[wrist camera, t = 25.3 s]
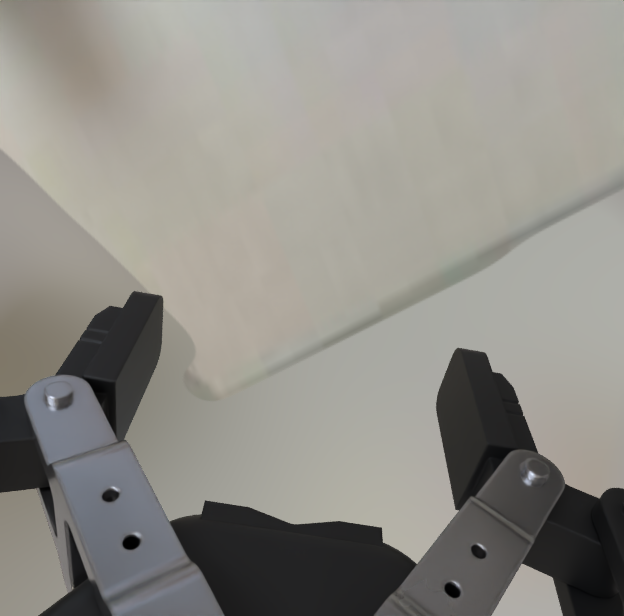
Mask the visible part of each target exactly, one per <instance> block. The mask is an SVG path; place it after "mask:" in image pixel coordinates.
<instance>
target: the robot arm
mask: <svg viewBox="0 0 624 616" xmlns="http://www.w3.org/2000/svg"><path fill="white" fill-rule="evenodd" d="M162 320H163V297H162V296H160V295H154V294H148V293H142V292H136V291H134V292H133V293H132V294H131V295H130V297H129V299H128V300H127V302H126V304H125V306H124V307H123V308H119V307H113V306H109V307H108V308H106V309H105V310H103V311H101V312H100V313H98V314H97V315H95V316H94V318H93V319H92V321H91V322H90V324H89V325H88V327H87V330H85V331H84V333H83V334H82V336H81V338H80V341H78V342H77V343H76V345H75V347H74V348H73V349H72V351H71V352H70V354H69V355H68V357H67V358H66V360H65V361H64V363H63V364H62V366H61V367H60V369H59V370H58V372H57V373H56V375H55V376H50V377H47V378H44V379H41V380H40V381H38V382H36V383H34V384H33V385H32V386H31V387H30V388H29V389H28V390H27V392H26V394H23V395H19V396H9V397H0V493H1V492H10V491H18V490H26V489H35V488H36V489H37V492H38V495H39V498H40V501H41V504H42V507H43V510H44V513H45V516H46V519H47V522H48V525H49V528H50V531H51V534H52V537H53V539H54V543H55V546H56V549H57V552H58V556H59V560H60V565H61V569H62V573H63V577H64V581H65V585H66V588H67V591H68V594H67V595H65V596H64V597H63V598H61V599H60V600H59V601H57V602H56V603H55V604H53V605H52V606H51V607H50V608H48V609H47V610H46V611H44V612H43V613H41V614H40V615H39V616H491V615H492V613H493V612H494V610H495V608H496V607H497V605H498V603H499V601H500V600H501V598H502V596H503V595H504V593H505V591H506V589H507V588H508V586H509V584H510V583H511V581H512V579H513V577H514V576H515V574H516V572H517V571H518V569H519V567H520V565H521V564H525V565H527V566H529V567H532V568H533V569H536V570H538V571H540V572H542V573H544V574H547V575H549V576H551V577H553V580H554V584H555V587H556V591H557V595H558V598H559V602H560V606H561V610H562V613H563V616H624V489H621V488H611V489H608V490H606V491H605V492H604V493H603V494H602V496H601V498H600V499H599V498H597V497H594V496H592V495H589V494H587V493H584V492H582V491H580V490H577V489H575V488H572V487H570V486H568V485H567V484H565V481H564V478H563V475H562V474H561V472H560V471H559V469H558V468H557V467H556V466H555V465H554V464H553V463H552V462H551V461H550V460H548V459H547V458H545V457H544V456H542V455H540V454H538V451H537V449H536V446H535V443H534V441H533V438H532V436H531V433H530V430H529V427H528V425H527V422H526V420H525V417H524V416H523V412H522V409H521V406H520V404H518V402H519V401H518V398H517V396H516V393H515V390H514V388H513V387H512V385H511V384H510V383H509V382H508V381H507V380H506V378H505V377H504V376H503V375H502V374H500V373H494V372H492V369H491V366H490V363H489V360H488V357H487V355H486V353H484V352H479V351H473V350H468V349H462V348H457V349H456V350H455V352H454V353H453V356H452V358H451V361H450V363H449V366H448V368H447V371H446V373H445V376H444V379H443V381H442V384H441V386H440V389H439V392H438V396H437V403H436V411H437V417H438V422H439V427H440V432H441V437H442V442H443V448H444V453H445V458H446V463H447V468H448V473H449V478H450V483H451V489H452V494H453V499H454V504H455V509H456V510H459V512H458V513H457V514H456V515H455V517H454V518H453V519H452V520H451V522H450V523H449V524H448V526H447V527H446V528H445V529H444V531H443V532H442V533H441V534H440V536H439V537H438V538H437V540H436V541H435V542H434V543H433V545H432V546H431V547H430V549H429V550H428V551H427V552H426V554H425V555H424V556H423V558H422V559H421V560H420V561H419V563H418V564H416V563H415V562H414V561H412V560H411V559H410V558H409V557H408V556H406V555H405V554H403V553H402V552H400V551H399V550H397V549H395V548H393V547H391V546H390V545H387V544H385V543H383V539H382V528H379V527H373V526H367V525H360V524H353V523H347V522H341V521H336V522H324V523H311V524H298V525H297V524H295V525H294V524H290V523H287V522H285V521H282V520H280V519H277V518H275V517H272V516H270V515H267V514H265V513H262V512H259V511H257V510H254V509H252V508H249V507H243V506H236V505H230V504H224V503H217V502H211V501H205V503H204V507H203V511H202V514H201V515H192V516H186V517H182V518H179V519H175V520H172V521H170V522H169V520H168V518H167V516H166V514H165V512H164V510H163V508H162V506H161V505H160V503H159V501H158V499H157V497H156V495H155V493H154V491H153V489H152V487H151V485H150V483H149V481H148V479H147V477H146V475H145V474H144V471H143V470H142V468H141V466H140V464H139V462H138V460H137V458H136V456H135V454H134V452H133V450H132V448H131V446H130V445H129V443H128V442H127V441H126V440H124V438H125V435H126V433H127V431H128V429H129V426H130V424H131V422H132V420H133V417H134V415H135V413H136V410H137V408H138V406H139V404H140V401H141V399H142V397H143V395H144V393H145V390H146V388H147V386H148V384H149V381H150V379H151V377H152V374H153V372H154V370H155V368H156V365H157V362H158V360H159V356H160V351H161V344H162V322H163V321H162Z"/></svg>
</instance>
